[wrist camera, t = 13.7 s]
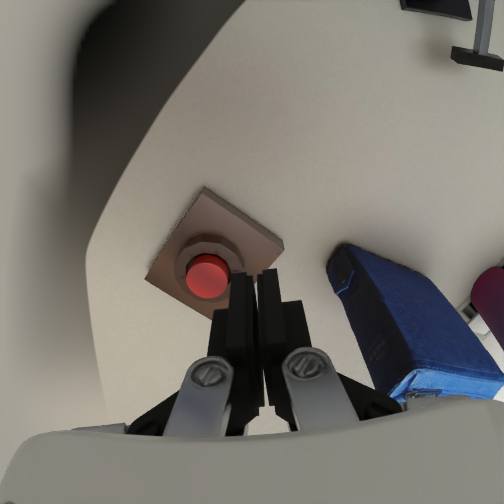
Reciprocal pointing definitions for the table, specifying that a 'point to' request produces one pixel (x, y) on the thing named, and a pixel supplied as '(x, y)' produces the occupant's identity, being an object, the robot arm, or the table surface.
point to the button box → (213, 250)
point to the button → (207, 276)
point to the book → (409, 330)
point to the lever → (480, 42)
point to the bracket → (440, 8)
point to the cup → (491, 301)
